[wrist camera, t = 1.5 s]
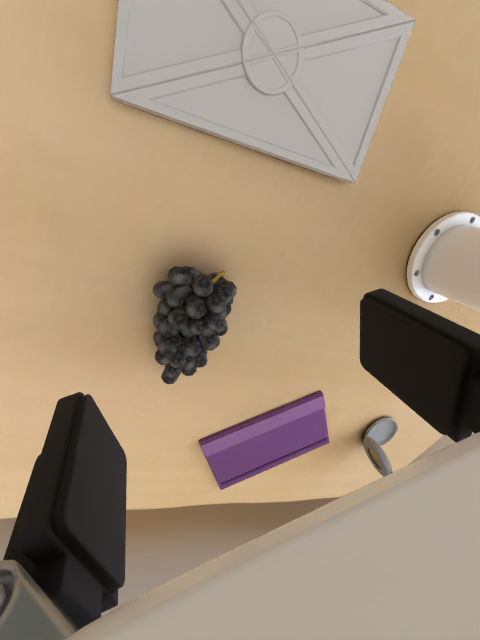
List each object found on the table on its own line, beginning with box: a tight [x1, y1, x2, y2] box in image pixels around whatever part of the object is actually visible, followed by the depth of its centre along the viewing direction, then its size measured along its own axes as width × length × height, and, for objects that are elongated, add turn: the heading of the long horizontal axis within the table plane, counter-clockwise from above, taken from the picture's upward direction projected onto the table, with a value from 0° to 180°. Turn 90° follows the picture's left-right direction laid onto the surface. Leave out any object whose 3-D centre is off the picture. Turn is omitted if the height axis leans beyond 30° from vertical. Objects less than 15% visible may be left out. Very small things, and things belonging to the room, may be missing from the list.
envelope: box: [110, 0, 415, 183], centre depth 26 cm, size 24×2×14 cm
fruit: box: [153, 266, 236, 384], centre depth 32 cm, size 9×8×15 cm
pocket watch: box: [363, 418, 398, 477], centre depth 51 cm, size 8×8×10 cm
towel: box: [199, 391, 329, 490], centre depth 48 cm, size 20×12×1 cm, turn 104°
